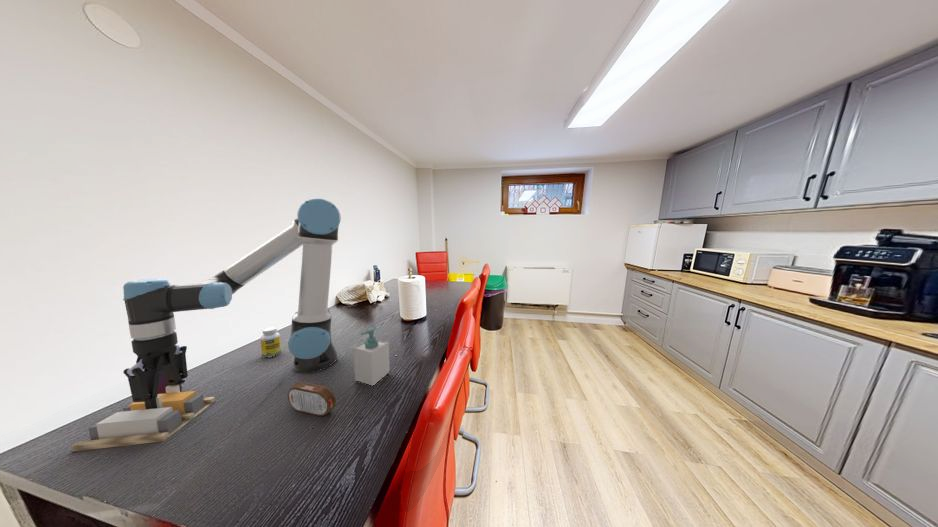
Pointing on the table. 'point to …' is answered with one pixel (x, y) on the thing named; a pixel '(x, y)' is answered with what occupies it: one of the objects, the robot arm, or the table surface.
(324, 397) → the tin
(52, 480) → the table surface
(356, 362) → the soap bottle
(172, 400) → the grey-capped orange block
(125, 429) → the grey-capped white block
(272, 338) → the pill bottle
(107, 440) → the comb board
